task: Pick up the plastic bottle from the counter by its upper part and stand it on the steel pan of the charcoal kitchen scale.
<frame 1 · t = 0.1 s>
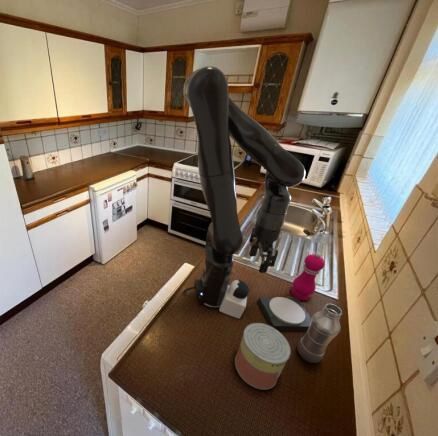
hand: (257, 263, 81), 17 cm above the countertop, tool pointing down, fingers open, 8 cm apart
plastic bottle: (307, 355, 71), on the countertop
pepper mill: (299, 294, 92), on the countertop
canned food: (255, 368, 68), on the countertop
scale: (284, 315, 83), on the countertop
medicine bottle: (230, 308, 86), on the countertop, touching arm
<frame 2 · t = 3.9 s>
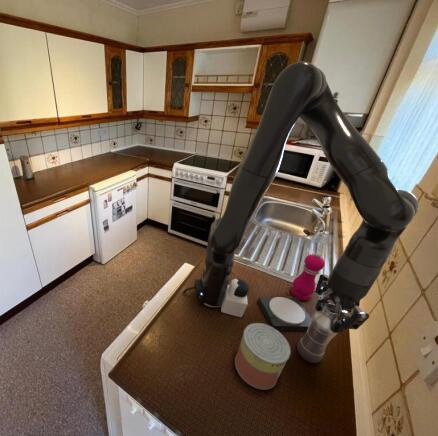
hand: (327, 320, 64), 16 cm above the countertop, tool pointing down, fingers closed on plastic bottle, 6 cm apart
plastic bottle: (307, 355, 71), on the countertop, touching gripper
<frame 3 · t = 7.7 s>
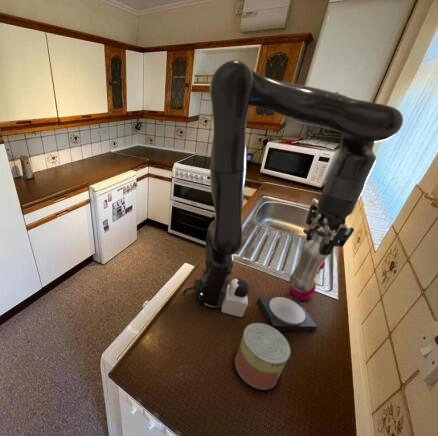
hand: (316, 247, 68), 30 cm above the countertop, tool pointing down, fingers closed on plastic bottle, 6 cm apart
plastic bottle: (298, 287, 75), point 14 cm above the countertop, touching gripper
everything else where it was.
when the fingers open (19 cm above the countertop, at t = 11.4 s): plastic bottle stays where it is, resting on scale.
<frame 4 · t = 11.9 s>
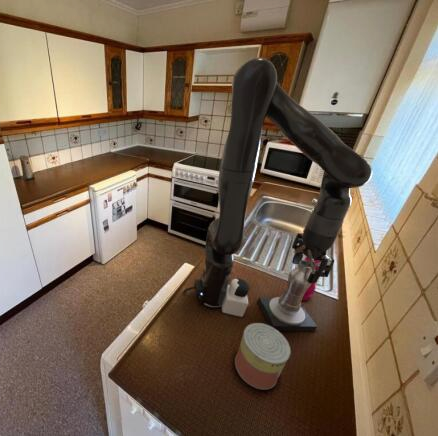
hand: (302, 272, 74), 20 cm above the countertop, tool pointing down, fingers open, 8 cm apart
plastic bottle: (286, 309, 82), point 3 cm above the countertop, touching scale
everything else where it was.
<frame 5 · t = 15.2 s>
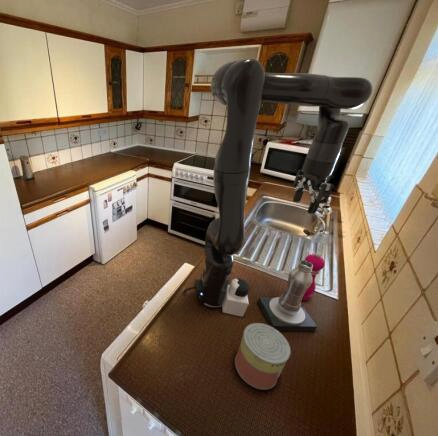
hand: (303, 207, 77), 36 cm above the countertop, tool pointing down, fingers open, 8 cm apart
nothing on the countertop moved.
at the end: plastic bottle inside the target area on the scale (0.1 cm from its centre), point 3.0 cm above the scale's base; plastic bottle tilted 0° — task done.
